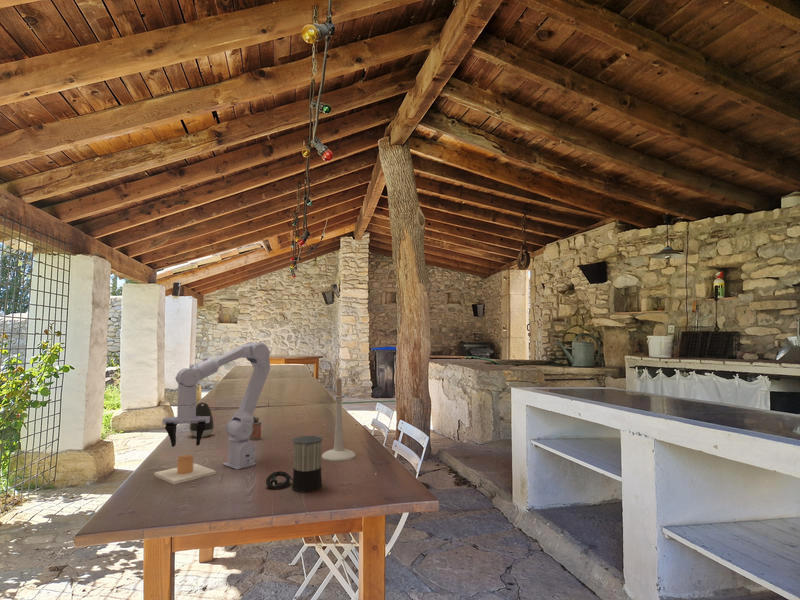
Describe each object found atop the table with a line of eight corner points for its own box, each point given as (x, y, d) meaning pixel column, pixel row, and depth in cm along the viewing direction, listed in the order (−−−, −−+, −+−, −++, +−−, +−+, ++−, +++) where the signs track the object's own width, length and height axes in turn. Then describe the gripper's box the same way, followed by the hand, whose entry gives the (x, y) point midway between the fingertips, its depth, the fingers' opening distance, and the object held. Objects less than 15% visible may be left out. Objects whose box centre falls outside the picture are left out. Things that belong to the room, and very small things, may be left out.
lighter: (262, 438, 210) (262, 415, 211) (259, 440, 207) (259, 417, 208) (244, 438, 211) (245, 415, 212) (241, 440, 208) (241, 417, 208)
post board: (215, 474, 160) (216, 459, 160) (173, 484, 149) (174, 468, 149) (195, 466, 169) (195, 452, 169) (154, 475, 158) (154, 461, 158)
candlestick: (339, 450, 190) (339, 375, 192) (362, 456, 182) (362, 377, 184) (314, 457, 180) (315, 377, 182) (337, 463, 172) (338, 379, 174)
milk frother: (326, 489, 144) (327, 440, 145) (274, 498, 137) (275, 446, 137) (311, 477, 157) (312, 431, 157) (263, 484, 149) (263, 436, 150)
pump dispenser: (209, 432, 222) (210, 399, 223) (216, 436, 214) (217, 402, 215) (186, 436, 216) (187, 402, 217) (193, 440, 208) (194, 404, 209)
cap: (194, 469, 162) (194, 454, 162) (191, 473, 157) (191, 458, 157) (179, 470, 161) (180, 455, 161) (176, 474, 156) (176, 458, 157)
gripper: (212, 401, 165) (211, 441, 165) (167, 403, 163) (166, 443, 162) (207, 405, 159) (207, 446, 158) (160, 406, 156) (159, 448, 155)
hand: (185, 445), depth 159 cm, fingers open, 7 cm apart
